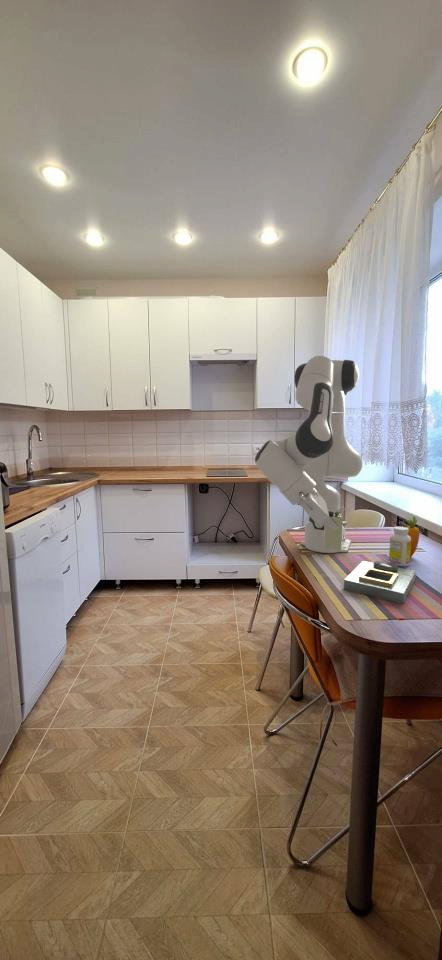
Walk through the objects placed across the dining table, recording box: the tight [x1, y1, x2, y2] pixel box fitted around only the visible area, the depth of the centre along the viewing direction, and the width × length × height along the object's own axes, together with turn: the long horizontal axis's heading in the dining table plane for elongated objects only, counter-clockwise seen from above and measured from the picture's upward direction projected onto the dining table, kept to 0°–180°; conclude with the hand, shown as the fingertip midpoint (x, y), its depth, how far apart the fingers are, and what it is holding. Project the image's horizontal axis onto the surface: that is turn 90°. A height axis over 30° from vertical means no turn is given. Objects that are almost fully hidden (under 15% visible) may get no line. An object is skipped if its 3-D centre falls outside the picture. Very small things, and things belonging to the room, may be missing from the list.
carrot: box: [405, 516, 421, 558], centre depth 139 cm, size 5×5×15 cm
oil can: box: [324, 506, 346, 550], centre depth 105 cm, size 4×5×12 cm
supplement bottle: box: [388, 526, 411, 567], centre depth 133 cm, size 7×7×13 cm
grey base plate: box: [343, 560, 417, 604], centre depth 116 cm, size 22×16×4 cm
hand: (335, 526), depth 105 cm, fingers closed on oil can, 4 cm apart
